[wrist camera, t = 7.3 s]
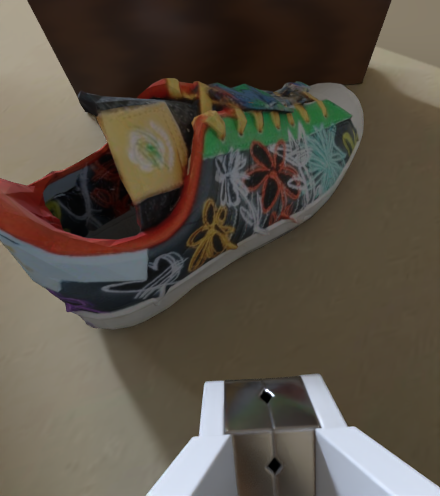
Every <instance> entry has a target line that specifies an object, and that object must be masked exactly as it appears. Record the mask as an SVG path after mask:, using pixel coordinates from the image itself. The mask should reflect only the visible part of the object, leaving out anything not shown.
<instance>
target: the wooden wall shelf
mask: <svg viewBox="0 0 440 496" xmlns="http://www.w3.org/2000/svg"><path fill="white" fill-rule="evenodd" d="M27 1H28V3H29V5H30V6H31V8H32V10H33V12H34V14H35V16H36V18H37V20H38V22H39V24H40V26H41V28H42V30H43V31H44V33H45V35H46V37H47V39H48V41H49V43H50V45H51V47H52V49H53V51H54V53H55V54H56V56H57V58H58V60H59V62H60V64H61V66H62V68H63V70H64V72H65V74H66V76H67V77H68V79H69V81H70V83H71V85H72V87H73V89H74V91H75V93H76V95H77V97H78V94H79V92H80V91H83V92H85V93H88V94H94V95H99V96H107V97H124V98H137V97H138V96H139V95H140V94H141V93H142V92H143V91H145V90H146V89H147V88H148V87H149V86H150V85H152V84H153V83H155V82H157V81H159V80H161V79H164V78H175V79H177V80H178V81H179V82H185V83H192V84H193V83H194V82H195V81H199V82H201V83H203V84H206V85H209V84H213V83H217V82H218V83H220V84H222V85H225V86H227V87H229V88H233V87H236V86H239V85H242V84H246V85H249V86H252V87H254V88H257V89H259V90H267V91H272V92H275V91H277V90H279V89H282V88H283V86H284V85H285V84H286V83H289V82H292V83H295V82H296V81H299V82H302V83H304V84H306V85H308V86H311V85H314V84H318V83H336V84H342V85H348V84H357V83H362V82H363V79H364V76H365V73H366V71H367V68H368V65H369V62H370V59H371V56H372V54H373V51H374V48H375V45H376V42H377V40H378V37H379V34H380V31H381V28H382V26H383V23H384V20H385V17H386V14H387V11H388V9H389V6H390V3H391V0H27ZM85 112H86V111H85Z"/></svg>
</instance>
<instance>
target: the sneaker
mask: <svg viewBox="0 0 440 496" xmlns="http://www.w3.org/2000/svg"><path fill="white" fill-rule="evenodd" d="M78 99H79V102H80V104H81V106H82V107H83V109H84V110H85V111H86V112H88V113H91V114H93V115H95V116H97V120H98V123H99V125H100V127H101V129H102V131H103V133H104V135H105V137H106V140H107V143H106V144H105V145H104V146H103V147H102V148H101V149H100V150H98V151H97V152H95V153H93V154H91V155H90V156H88V157H86V158H85V159H83V160H81V161H80V162H78V163H76V164H74V165H72V166H70V167H68V168H66V169H65V170H60V171H52V172H51V173H49V174H48V175H46V176H45V177H43V178H42V179H40V180H38V181H36V182H34V183H32V184H30V185H27V186H26V185H22V184H18V183H13V182H10V181H7V180H4V179H1V178H0V241H1V242H2V243H3V245H4V246H5V247H6V248H7V249H8V250H9V252H10V253H11V254H12V255H13V256H14V258H15V259H16V260H17V261H18V263H19V264H20V265H21V266H22V268H23V269H24V270H25V271H26V273H27V274H28V275H29V276H30V278H31V279H32V280H33V281H35V282H36V283H38V284H39V285H41V286H42V287H44V288H46V289H47V290H48V291H49V292H50V293H52V294H53V295H55V296H56V297H57V298H59V299H60V300H62V301H63V302H64V303H65V305H66V311H67V312H72V313H75V314H77V315H79V316H80V317H81V318H82V319H83V320H84V321H85V322H86V324H87V325H89V326H91V327H93V328H102V329H119V328H126V327H131V326H134V325H137V324H139V323H142V322H144V321H146V320H148V319H150V318H151V317H153V316H155V315H157V314H159V313H160V312H162V311H164V310H166V309H168V308H169V307H170V306H172V305H173V304H174V303H175V302H176V301H178V300H179V299H180V298H181V297H183V296H184V295H185V294H186V293H187V292H188V291H190V290H191V289H192V288H193V287H194V286H196V285H197V284H199V283H201V282H202V281H204V280H205V279H207V278H208V277H210V276H212V275H213V274H215V273H216V272H218V271H219V270H221V269H222V268H224V267H226V266H227V265H229V264H230V263H232V262H233V261H235V260H236V259H238V258H240V257H242V256H244V255H246V254H248V253H250V252H252V251H254V250H256V249H258V248H260V247H262V246H264V245H266V244H268V243H270V242H272V241H274V240H276V239H278V238H279V237H281V236H283V235H285V234H286V233H288V232H290V231H291V230H293V229H295V228H296V227H298V226H299V225H300V224H302V223H303V222H305V221H306V220H308V219H310V218H311V217H312V216H313V215H314V214H315V213H316V212H317V211H318V210H319V209H320V208H321V207H322V206H323V205H324V204H325V203H326V202H327V200H328V199H329V198H330V197H331V196H332V194H333V193H334V191H335V190H336V188H337V186H338V185H339V183H340V182H341V180H342V179H343V177H344V175H345V173H346V171H347V170H348V168H349V166H350V164H351V162H352V159H353V157H354V155H355V153H356V151H357V149H358V147H359V144H360V141H361V137H362V134H363V125H364V118H363V110H362V107H361V104H360V102H359V100H358V98H357V97H356V95H355V94H354V93H353V92H351V91H350V90H349V89H347V88H346V87H344V86H343V85H342V84H336V83H318V84H314V85H311V86H308V85H306V84H304V83H302V82H299V81H296V82H295V83H292V82H289V83H286V84H285V85H284V86H283V88H282V89H279V90H277V91H275V92H272V91H267V90H259V89H257V88H254V87H252V86H249V85H246V84H242V85H239V86H236V87H233V88H229V87H227V86H225V85H222V84H220V83H218V82H217V83H213V84H209V85H206V84H203V83H201V82H199V81H195V82H194V83H193V84H192V83H185V82H179V81H178V80H177V79H175V78H164V79H161V80H159V81H157V82H155V83H153V84H152V85H150V86H149V87H148V88H147V89H146V90H145V91H143V92H142V93H141V94H140V95H139V96H138V97H137V98H124V97H107V96H99V95H94V94H88V93H85V92H83V91H80V92H79V94H78Z"/></svg>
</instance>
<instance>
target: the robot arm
mask: <svg viewBox="0 0 440 496" xmlns="http://www.w3.org/2000/svg"><path fill="white" fill-rule="evenodd" d="M146 496H440V487H439V486H437V485H436V484H435V483H433V482H432V481H430V480H429V479H428V478H426V477H425V476H423V475H422V474H421V473H419V472H418V471H416V470H415V469H414V468H412V467H411V466H409V465H408V464H407V463H405V462H404V461H402V460H401V459H400V458H398V457H397V456H395V455H394V454H393V453H391V452H390V451H389V450H387V449H386V448H384V447H383V446H382V445H380V444H379V443H377V442H376V441H375V440H373V439H372V438H370V437H369V436H368V435H366V434H365V433H363V432H362V431H361V430H359V429H358V428H356V427H355V426H354V427H348V425H347V423H346V421H345V420H344V418H343V416H342V414H341V412H340V410H339V408H338V406H337V404H336V402H335V400H334V398H333V397H332V395H331V393H330V391H329V389H328V387H327V385H326V383H325V381H324V379H323V377H322V376H321V375H320V374H319V373H318V374H307V375H300V376H291V377H278V378H265V379H242V380H225V382H224V381H207V382H205V384H204V390H203V400H202V410H201V420H200V431H199V436H198V437H192V438H191V440H190V441H189V442H188V443H187V445H186V446H185V447H184V448H183V450H182V451H181V452H180V453H179V455H178V456H177V457H176V458H175V460H174V461H173V462H172V463H171V465H170V466H169V467H168V468H167V470H166V471H165V472H164V473H163V475H162V476H161V477H160V478H159V480H158V481H157V482H156V483H155V485H154V486H153V487H152V489H151V490H150V491H149V492H148V494H147V495H146Z"/></svg>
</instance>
